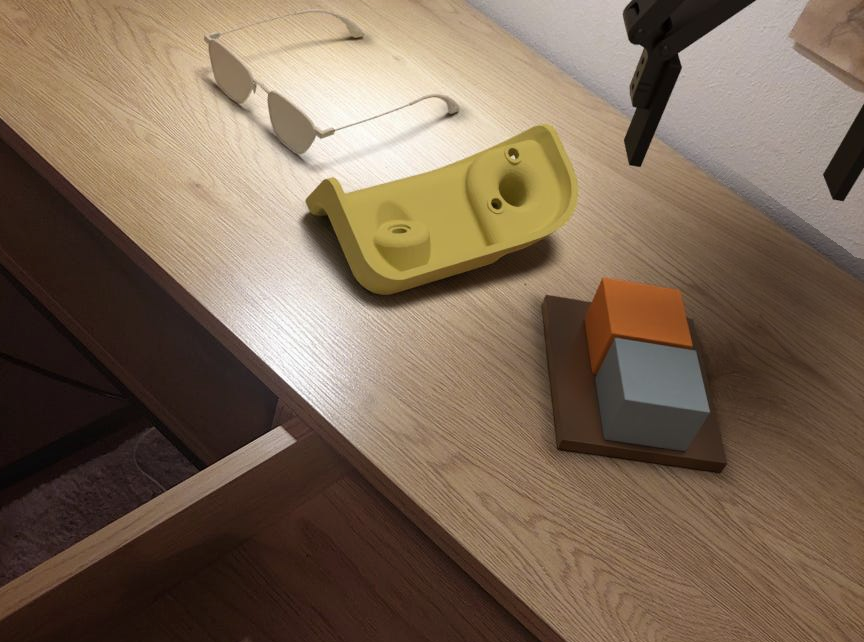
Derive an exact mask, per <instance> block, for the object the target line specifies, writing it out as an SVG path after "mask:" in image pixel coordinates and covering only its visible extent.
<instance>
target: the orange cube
mask: <svg viewBox="0 0 864 642" xmlns="http://www.w3.org/2000/svg"><path fill="white" fill-rule="evenodd" d="M682 297H683V296H682V292H681V290H679V289H674V288H669V287H662V286H657V285H651V284H646V283H640V282H635V281H628V280H623V279H616V278H611V277H604V276H603V277H602V278H601V280H600V283H599V285H598V287H597V289H596V291H595V294H594V296H593V298H592V301H590V302H591V305H590V307H589V309H588V311H587V314H586V316H585V318H584V320H585V327H586V334H587V341H588V348H589V355H590V362H591V369H592V374H596V375H597V374H598V372H599V370H600V368H601V366H602V363H603V361H604V359H605V357H606V355H607V353H608V351H609V349H610V347H611V345H612V343H613V341H614V339H615V338H620V339H626V340H632V341H639V342H645V343H651V344H657V345H664V346H670V347H676V348H682V349H688V350H691V348H692V346H693V345H692V341H691V336H690V332H689V328H688V323H687V319H686V318H687V315H686V311H685V306H684V302H683V298H682Z"/></svg>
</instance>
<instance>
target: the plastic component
mask: <svg viewBox="0 0 864 642" xmlns="http://www.w3.org/2000/svg"><path fill="white" fill-rule="evenodd" d="M513 156H514V158H512V157H513ZM578 198H579V186H578V179H577V175H576V172H575V170H574V167H573V164H572V162H571V160H570V157H569V155H568V153H567V151H566V149H565V147H564V143H563V142H562V140H561V138H560V135H559V133H558V131H557V129H556V128H555V127H554V126H553V125H550V124H548V123H542V124H538V125H534V126H532V127H530V128H528V129H526V130H524V131H522V132H520V133H518V134H516V135H514V136H512V137H510V138H508V139H505V140H504V141H502V142H499V143H497V144H495V145H493V146H491V147H489V148H486V149H484V150H482V151H479V152H477V153H475V154H472V155H470V156H467V157H465V158H463V159H460V160H457V161H455V162H452V163H450V164H447V165H443V166H440V167H439V168H435V169H433V170H430V171H429V170H428V171H426V172H422V173H418V174H415V175H411V176H406V177H403V178H398V179H395V180H392V181H388V182H384V183H379V184H376V185H372V186H369V187H364V188H360V189H357V190H353V191H349V192H346V193H345V191H344V189H343V187H342V184H341V182H340V181H339V180H338V179H337V178H336V177H334V176H331V177H327V178H324V179H323V180H322V181H321V182H320V183H319V184H318V185H317V186H316V187H315V188H314V190H313V191H312V192H311V193H310V194H309V195H308V196H307V197H306V198H305V200H304V201H305V204H306V207H307V209H308V211H309V213H311V214H312V215H314V216H318V217H320V216H321V217H323V216H328V217H327V218H328V219H329V221H330V223H331V226H332V228H333V231H334V233H335V235H336V237H337V240H338V243H339V245H340V247H341V249H342V253H343V254H344V257H345V259H346V261H347V263H348V266H349V268H350V270H351V273H352V275H353V277H354V278H355V280H356V281H357V282H358V283H359V284H360V286H362V287H363V288H364V289H366V290H367V291H369V292H371V293H372V294H376V295H383V296H385V295H386V296H389V295H395V294H397V293H400V292H404V291H407V290H410V289H413V288H417V287H420V286H423V285H426V284H430V283H434V282H437V281H440V280H444V279H446V278H450V277H453V276H456V275H459V274H462V273H465V272H470V271H472V270H476V269H479V268H482V267H486V266H488V265H492V264H494V263H496V262H497V261H498V260H499V259H501V258H503V257H504V256H506V255H508V254H511V253H514V252H518V251H521V250H523V249H526V248H528V247H530V246H533V245H534V244H536V243H538V242H539V241H541V240H543V239H544V238H546V237H548V236H550V235H552V234H553V233H555V232H556V231H558V230H559V229H561V228H562V227H564V226H565V224H567V223H568V222H569V221H570V219H571V218H572V217H573V214H574V213H575V210H576V207H577V204H578Z"/></svg>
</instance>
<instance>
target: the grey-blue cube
mask: <svg viewBox="0 0 864 642" xmlns="http://www.w3.org/2000/svg"><path fill="white" fill-rule="evenodd" d="M595 381H596V388H597V394H598V401H599V408H600V415H601V422H602V429H603V435H604V439H605V440H610V441H617V442H624V443H631V444H638V445H645V446H651V447H658V448H665V449H672V450H679V451H686V450H687V449H688V447H689V445H690V444H691V442H692V441H693V439H694V437H695V436H696V434H697V433H698V431H699V429H700V428H701V426H702V425H703V423H704V421H705V420H706V418H707V416H708V415H709V413H710V409H709V405H708V401H707V396H706V392H705V388H704V383H703V379H702V375H701V370H700V366H699V362H698V357H697V353H696V351H695V350H688V349H682V348H676V347H670V346H664V345H657V344H651V343H645V342H639V341H632V340H626V339H620V338H615V339H614V341H613V343H612V345H611V347H610V349H609V351H608V353H607V355H606V357H605V359H604V361H603V363H602V366H601V368H600V370H599V372H598V374H597V376H596V378H595Z"/></svg>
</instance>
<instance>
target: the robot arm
mask: <svg viewBox="0 0 864 642" xmlns="http://www.w3.org/2000/svg"><path fill="white" fill-rule="evenodd" d="M756 1H757V0H631V1H629V3H627V4H626V5H625V7H624V9H623V11H622V19H623V23H624V28H625V32H626V35H627V40H628V42H629V43H630V44H632V45H633V46H640V47H642V48H643V49H642V51H641V54H640V57H639V60H638V62H637V65H636V68H635V71H634V73H633V75H632V78H631V80H630V83H629V97H630V101H631V106H632V108H635V110H634V112H633V116H632V118H631V120H630V123H629V126H628V127H627V131H626V133H625V136H624V138H623V142H624V143H623V144H624V148H625V153H626V158H627V162H628V166H630V167H637V168H642V165H643V162H644V160H645V158H646V156H647V153H648V151H649V148H650V146H651V144H652V142H653V138H654V136H655V134H656V131H657V129H658V127H659V124H660V122H661V120H662V117H663V115H664V112H665V110H666V108H667V105H668V103H669V101H670V98H671V96H672V93H673V90H674V89H675V86H676V84H677V82H678V79H679V77H680V74H681V72H682V69H683V66H682V63H681V60H680V55H679V53H681V52H682V51H684V50H685V49H687V48H688V47H690V46H691V45H693V44H694V43H696V42H697V41H699V40H700V39H702V38H704V37H705V36H706V35H707V34H709V33H710V32H712V31H714V30H715V29H716V28H718V27H719V26H721V25H723V24H724V23H725V22H727V21H728V20H729V19H731V18H733V17H734V16H736V15H737V14H739V13H741V11H743V10H745V9H746V8H747V7H749V6H750V5H752V4H754V3H755V2H756ZM863 171H864V103H863V104H862V105H861V107H860V109H859V111H858V112H857V114H856V116H855V118H854V120H853V121H852V123H851V125H850V127H849V129H848V130H847V132H846V134H845V135H844V136H843V138H842V141H841V142H840V144H839V146H838V147H837V149H836V151H835V152H834V154H833V156H832V158H831V160H830V161H829V163H828V165H827V167H826V168H825V170H824V172H823V173H822V176H823V178H824V181H825V183H826V186H827V189H828V191H829V194H830V196H831V199H832V201H839V202H845V200H846V198H847V197H848V195H849V194H850V192H851V191H852V189H853V187H854V185H855V184H856V182H857V180H858V179H859V177H860V176H861V174H862V173H863Z"/></svg>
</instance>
